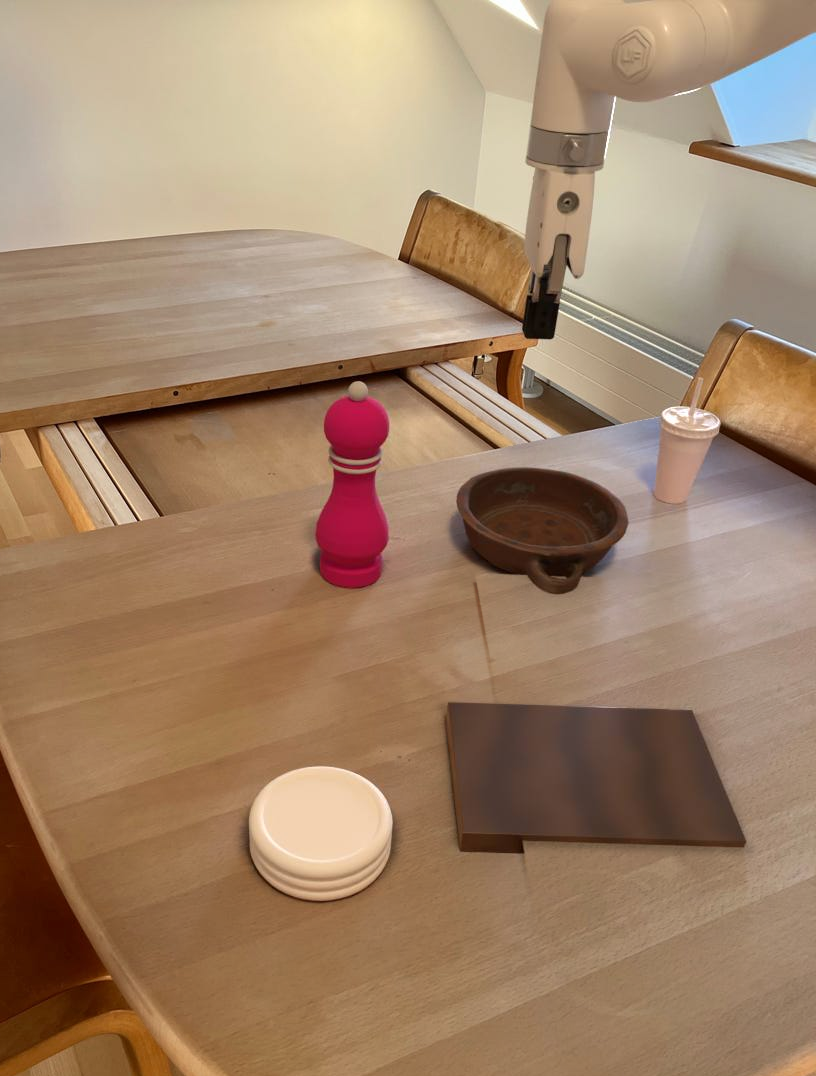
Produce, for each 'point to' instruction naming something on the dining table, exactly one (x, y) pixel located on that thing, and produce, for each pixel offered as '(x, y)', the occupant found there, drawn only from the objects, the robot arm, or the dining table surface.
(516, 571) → the dish
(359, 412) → the pepper mill
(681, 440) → the smoothie
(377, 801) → the coaster
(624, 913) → the dining table surface
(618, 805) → the cutting board
